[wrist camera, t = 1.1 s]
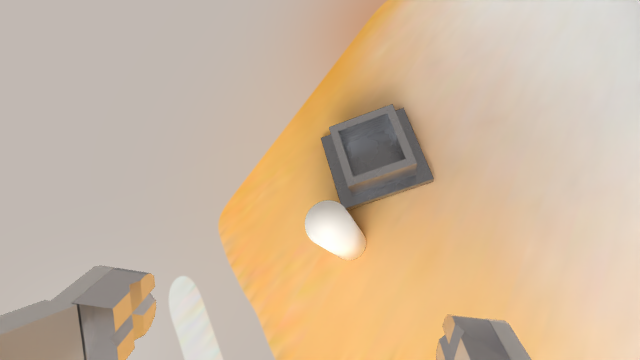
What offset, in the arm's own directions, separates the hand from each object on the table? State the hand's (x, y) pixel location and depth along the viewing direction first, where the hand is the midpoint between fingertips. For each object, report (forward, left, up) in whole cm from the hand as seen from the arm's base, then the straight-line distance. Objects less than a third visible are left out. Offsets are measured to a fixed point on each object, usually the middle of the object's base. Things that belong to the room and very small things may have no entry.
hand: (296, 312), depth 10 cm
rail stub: (+1, -6, -27) cm, 28 cm away
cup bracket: (-5, -14, -27) cm, 31 cm away
